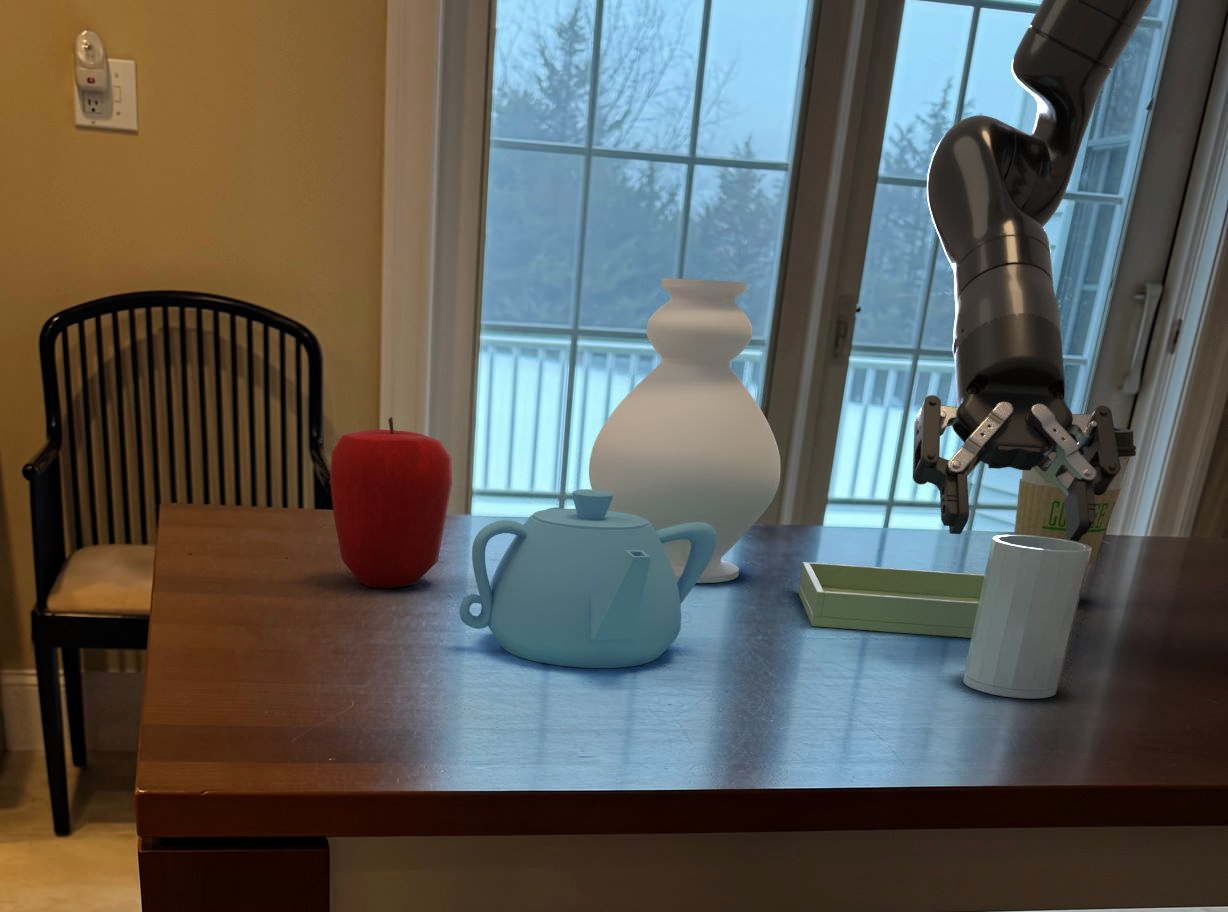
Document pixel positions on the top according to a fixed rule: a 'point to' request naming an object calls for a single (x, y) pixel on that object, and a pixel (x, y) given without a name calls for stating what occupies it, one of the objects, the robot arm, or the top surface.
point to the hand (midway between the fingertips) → (1019, 531)
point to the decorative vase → (691, 429)
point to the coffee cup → (1045, 500)
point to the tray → (890, 599)
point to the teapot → (586, 585)
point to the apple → (390, 504)
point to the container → (1025, 615)
